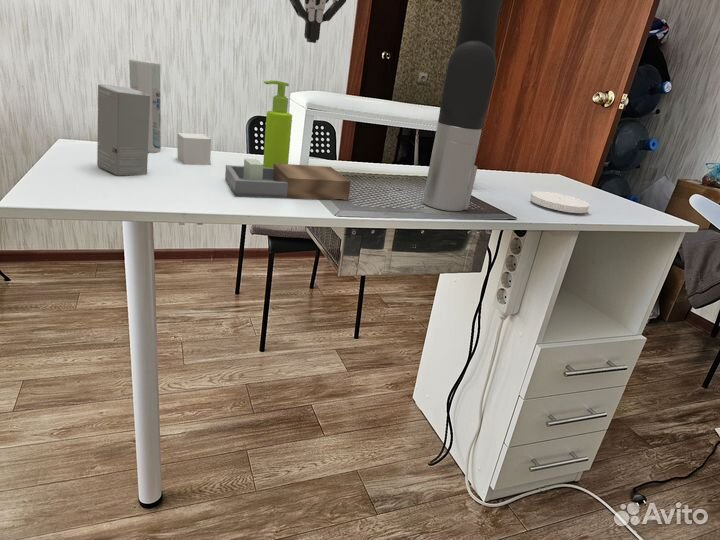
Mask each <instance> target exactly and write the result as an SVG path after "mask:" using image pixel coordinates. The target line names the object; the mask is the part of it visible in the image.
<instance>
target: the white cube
mask: <svg viewBox="0 0 720 540" xmlns="http://www.w3.org/2000/svg"><path fill="white" fill-rule="evenodd" d="M176 134H177V136H176V137H177V146H176V147H177V148H176V149H177V151H176V152H177V155H176V156H177V160H178V161H179V162H180V163H181V164H182V165H185V166H186V165H189V166H191V165H192V166H193V165H195V166H197V165H198V166H211V154H212V153H211V152H212V151H211V150H212V149H211V148H212V139H211V138H210V137H208V136H207V135H206V134H204V133H183V132H177V133H176Z"/></svg>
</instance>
